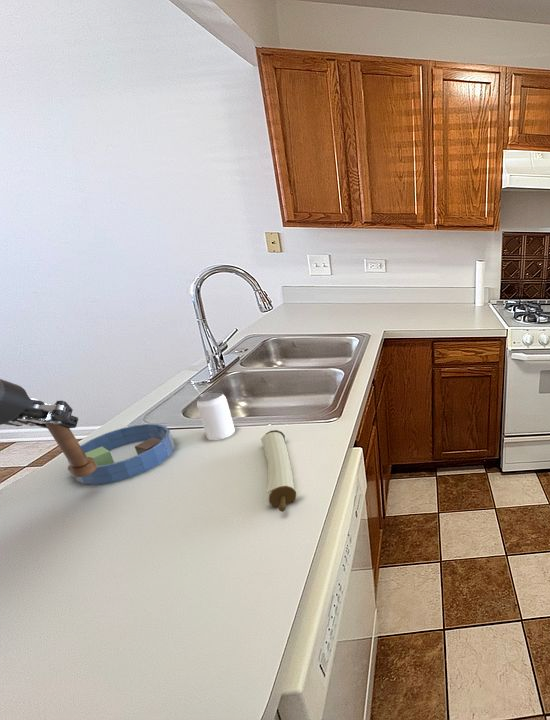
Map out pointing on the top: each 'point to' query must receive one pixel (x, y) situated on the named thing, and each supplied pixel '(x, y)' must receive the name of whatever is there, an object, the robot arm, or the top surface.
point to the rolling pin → (278, 470)
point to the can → (215, 415)
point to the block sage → (100, 456)
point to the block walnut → (147, 445)
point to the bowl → (130, 465)
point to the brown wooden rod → (72, 451)
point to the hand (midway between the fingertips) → (65, 423)
